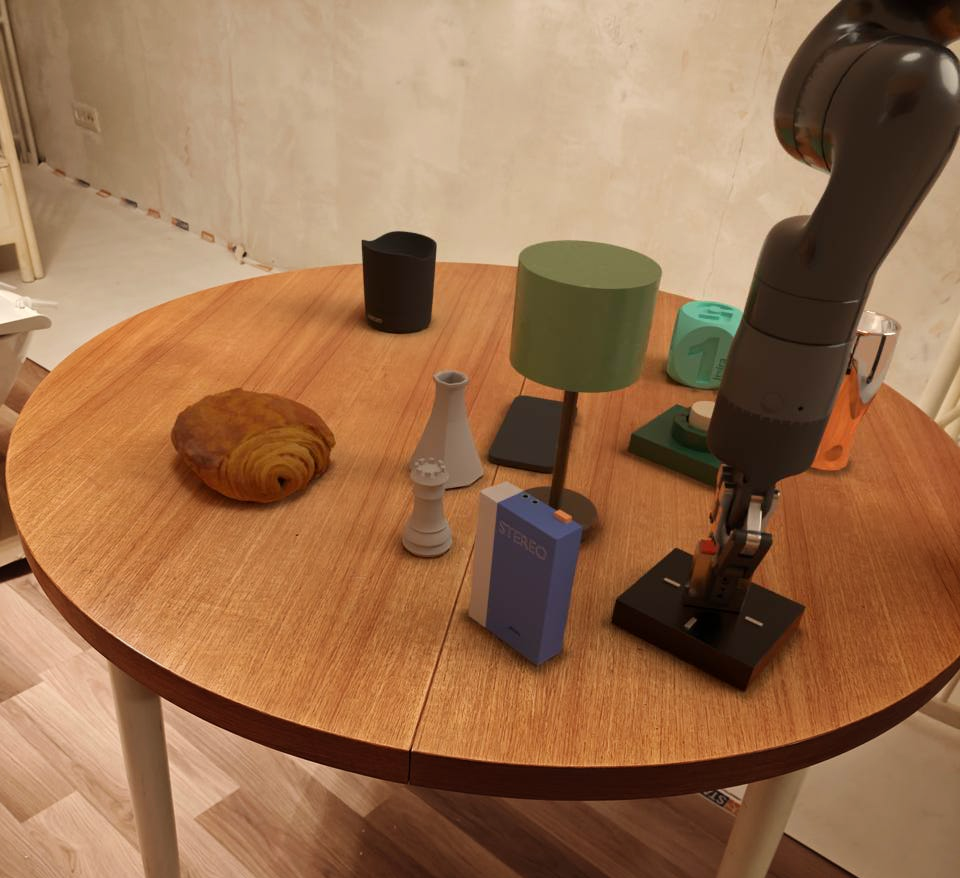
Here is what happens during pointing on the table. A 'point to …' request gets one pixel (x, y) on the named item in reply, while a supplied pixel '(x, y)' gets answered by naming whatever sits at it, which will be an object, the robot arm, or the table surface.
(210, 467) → the croissant
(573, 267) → the table lamp
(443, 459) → the flask
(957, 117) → the robot arm
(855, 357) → the chrome tumbler
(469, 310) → the table surface
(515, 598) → the walkman
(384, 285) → the pen holder
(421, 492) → the rook chess piece
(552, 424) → the phone
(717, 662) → the panel
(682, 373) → the decorative dice
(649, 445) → the switch base
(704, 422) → the button
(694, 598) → the dimmer knob
